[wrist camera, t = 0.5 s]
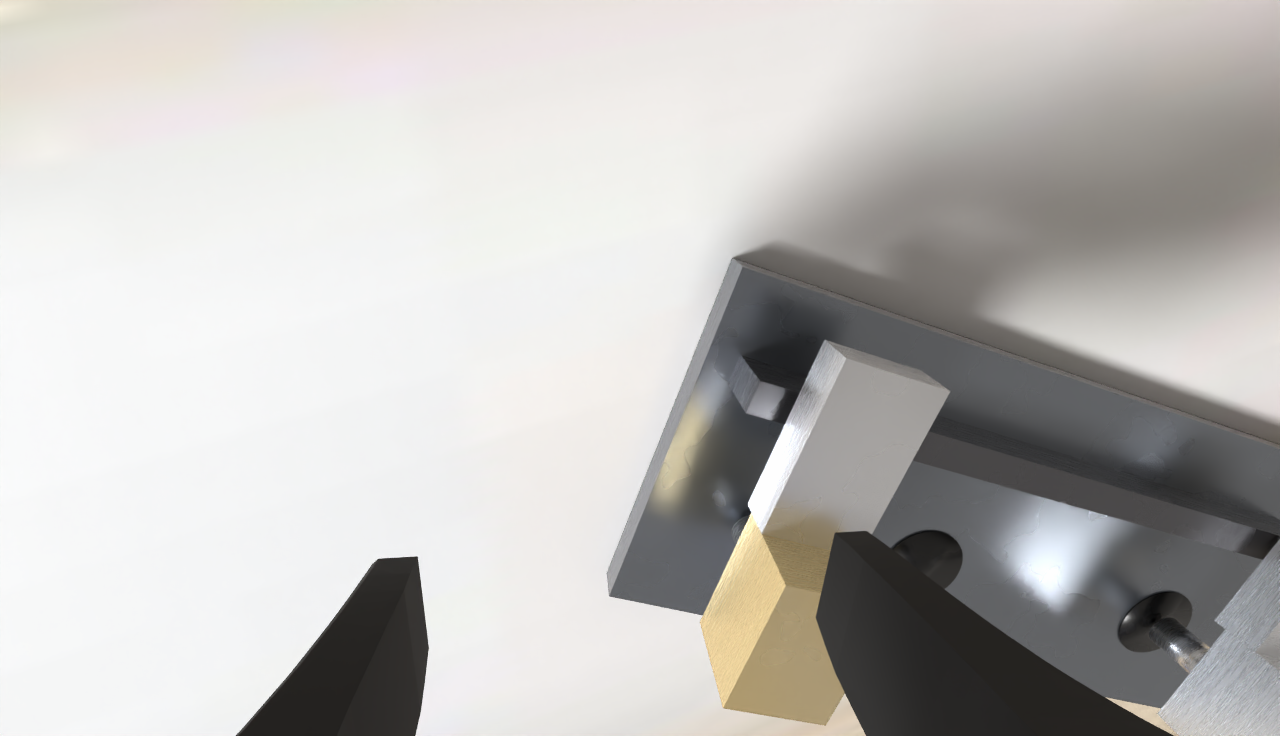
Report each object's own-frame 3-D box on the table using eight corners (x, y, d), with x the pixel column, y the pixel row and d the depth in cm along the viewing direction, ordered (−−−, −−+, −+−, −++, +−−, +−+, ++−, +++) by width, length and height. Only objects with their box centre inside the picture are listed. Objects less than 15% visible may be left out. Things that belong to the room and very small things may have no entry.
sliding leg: (765, 586, 22) (825, 725, 17) (685, 569, 21) (723, 708, 16) (886, 345, 19) (1001, 427, 14) (798, 317, 18) (885, 391, 13)
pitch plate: (1138, 685, 28) (1308, 853, 22) (606, 572, 23) (624, 752, 17) (1316, 457, 25) (1584, 578, 18) (732, 258, 19) (818, 330, 13)
